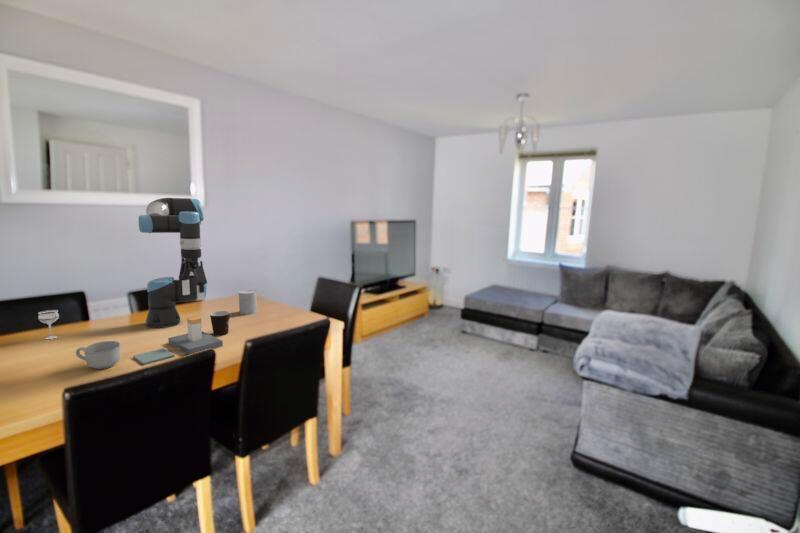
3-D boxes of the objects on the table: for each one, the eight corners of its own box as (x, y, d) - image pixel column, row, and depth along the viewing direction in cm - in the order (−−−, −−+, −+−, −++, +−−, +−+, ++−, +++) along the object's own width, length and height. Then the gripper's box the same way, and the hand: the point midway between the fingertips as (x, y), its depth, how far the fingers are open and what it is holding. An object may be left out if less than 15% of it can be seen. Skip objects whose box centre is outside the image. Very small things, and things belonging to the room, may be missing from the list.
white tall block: (188, 344, 166) (187, 318, 164) (198, 342, 169) (196, 316, 167) (192, 347, 163) (191, 320, 161) (202, 344, 166) (200, 318, 165)
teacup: (128, 360, 148) (127, 340, 147) (108, 372, 137) (106, 351, 136) (92, 359, 147) (90, 340, 146) (68, 371, 137) (66, 350, 135)
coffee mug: (222, 337, 176) (222, 316, 175) (206, 335, 178) (205, 315, 177) (238, 329, 188) (237, 310, 186) (222, 328, 189) (222, 308, 188)
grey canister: (260, 312, 219) (260, 291, 217) (246, 315, 211) (245, 294, 209) (250, 309, 224) (249, 289, 222) (235, 312, 216) (235, 291, 214)
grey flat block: (168, 343, 167) (168, 338, 166) (200, 335, 178) (200, 330, 177) (189, 355, 155) (188, 349, 154) (222, 346, 166) (222, 340, 165)
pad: (133, 357, 150) (132, 355, 150) (163, 349, 159) (163, 348, 159) (143, 365, 144) (143, 363, 144) (174, 356, 153) (174, 354, 152)
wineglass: (65, 336, 171) (62, 310, 169) (47, 341, 164) (44, 314, 163) (54, 334, 173) (51, 309, 171) (36, 339, 166) (33, 313, 164)
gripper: (168, 246, 164) (171, 293, 167) (195, 251, 149) (198, 303, 152) (186, 245, 170) (189, 291, 173) (214, 250, 155) (216, 300, 158)
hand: (193, 297), depth 163 cm, fingers open, 13 cm apart
